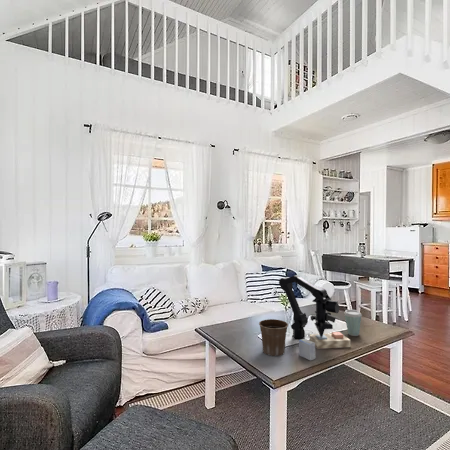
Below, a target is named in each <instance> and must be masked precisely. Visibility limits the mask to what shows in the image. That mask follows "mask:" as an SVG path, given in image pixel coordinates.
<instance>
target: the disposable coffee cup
mask: <svg viewBox="0 0 450 450" xmlns="http://www.w3.org/2000/svg"><path fill="white" fill-rule="evenodd" d="M343 315H344V319H345V325H346V329H347V333H348V335H349V336H353V337H358V336H359V334H360V329H361V321H362V316H363V315H362V313H361V312H360V311H359V310H356V309H345V311H344V312H343Z"/></svg>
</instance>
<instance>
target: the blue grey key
mask: <svg viewBox="0 0 450 450" xmlns="http://www.w3.org/2000/svg"><path fill="white" fill-rule="evenodd" d="M316 338H318V339H319V340H321V339H327V337H326V336H325V335H323V336H320V335H316Z"/></svg>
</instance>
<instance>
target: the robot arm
mask: <svg viewBox="0 0 450 450" xmlns="http://www.w3.org/2000/svg"><path fill="white" fill-rule="evenodd" d="M293 283H295V284H297V285H298V286H301V288H303V289H305V290H307V291H308V292H309V293H310V294H311V295H312V297H314V299H313V300H312V302H313V303H315V311H314V313H315V314H311V315H310V321H312V322H314V321H315V322H314V325H315V328H316V329H317V330H316V331H317V332H318V334H320V336H323V334H325V330H332V329H334V327H333V324H332V323H335V322H336V319H337V318H336V316H334V315H333V314H339V312H340V304H339V303H338V301H337V300H332V299H331V297H330V296H329V294H328V292H327V289H325V288H323V287H320V286H317V285H314V284H312V283H311V282H309V281H307V280H306V279H305V278H303V277H301V276H300V275H298V274H295V275H292V276H290V277H288V276H285V277H281V278H279V281H278V284H279V286H280V288H281V290H282V291H284V293H285V295H286V297H287V296H288V298H287V299H288V303H289V305H290V308H291V310H292V313H293V323H292V324H291V325H290V327H291V330H292V335H291V337H292V338H293V339H294V340H295V341H296V340H297V341H299V340H301V339H306V338H305V337H306V331H305V328H306V325H308V322H309V321H308V319H309V318H308V317H307V313H306V312H302V310H301V308H300V305H299V303H298V301H297V298H296V295H295V292H294V290H293ZM332 313H333V314H332ZM331 322H332V323H331Z"/></svg>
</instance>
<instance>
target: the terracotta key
mask: <svg viewBox="0 0 450 450" xmlns="http://www.w3.org/2000/svg"><path fill="white" fill-rule="evenodd" d="M331 333H332V337H334V338H335V339H340V338H343V335H344V334H343V333H342V332H340V331H331Z"/></svg>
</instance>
